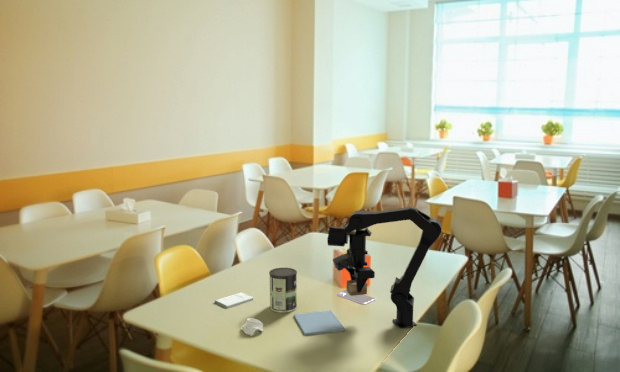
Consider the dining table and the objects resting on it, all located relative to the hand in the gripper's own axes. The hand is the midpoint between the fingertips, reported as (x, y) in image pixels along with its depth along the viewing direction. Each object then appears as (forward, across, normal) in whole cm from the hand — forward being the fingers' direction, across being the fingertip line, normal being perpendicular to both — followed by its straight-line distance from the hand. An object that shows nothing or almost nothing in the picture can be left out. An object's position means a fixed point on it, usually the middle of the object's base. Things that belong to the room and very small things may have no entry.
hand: (356, 289), depth 184 cm
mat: (+11, 0, -14) cm, 18 cm away
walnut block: (+1, 0, 0) cm, 1 cm away
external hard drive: (+12, -28, -40) cm, 50 cm away
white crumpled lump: (+11, 0, -37) cm, 39 cm away
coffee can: (+11, -17, -23) cm, 31 cm away
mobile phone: (+12, -20, +7) cm, 24 cm away
